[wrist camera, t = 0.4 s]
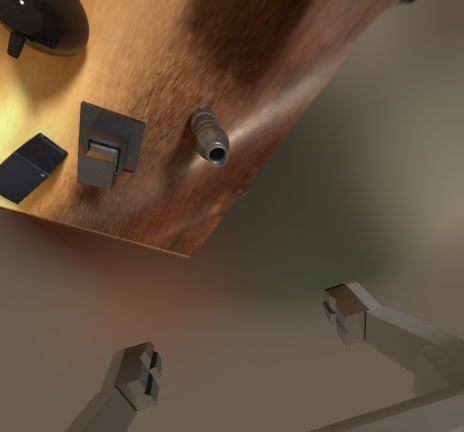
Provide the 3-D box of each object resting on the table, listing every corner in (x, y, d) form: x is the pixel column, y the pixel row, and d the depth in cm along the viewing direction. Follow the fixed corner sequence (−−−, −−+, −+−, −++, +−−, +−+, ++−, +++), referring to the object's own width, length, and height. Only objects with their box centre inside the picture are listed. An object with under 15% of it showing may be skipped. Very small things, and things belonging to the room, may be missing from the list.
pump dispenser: (15, 28, 36) (-53, 28, 25) (23, -50, 32) (-55, -94, 20) (86, 68, 41) (56, 83, 30) (101, 6, 37) (74, -4, 26)
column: (98, 125, 46) (78, 155, 35) (125, 134, 49) (114, 164, 38) (96, 148, 49) (77, 182, 38) (122, 155, 51) (110, 189, 40)
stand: (83, 101, 44) (67, 114, 37) (145, 122, 50) (142, 138, 43) (80, 154, 51) (66, 174, 44) (135, 168, 56) (131, 188, 49)
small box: (38, 130, 46) (12, 150, 38) (69, 153, 50) (52, 175, 42) (8, 159, 48) (-23, 185, 40) (40, 179, 52) (18, 206, 44)
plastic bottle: (195, 138, 54) (207, 180, 40) (184, 111, 50) (192, 146, 35) (220, 129, 54) (240, 166, 39) (210, 101, 50) (230, 131, 35)
